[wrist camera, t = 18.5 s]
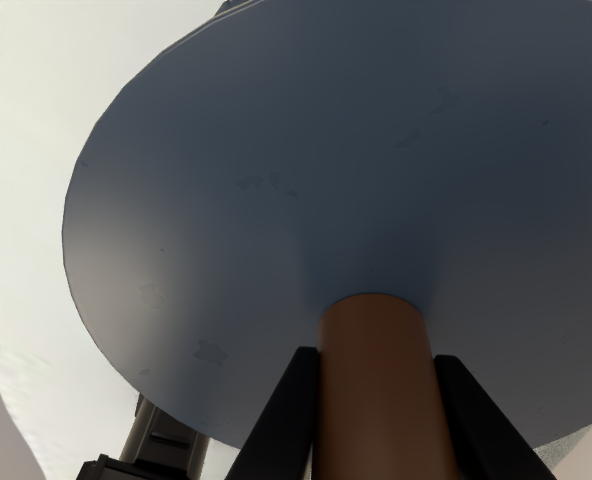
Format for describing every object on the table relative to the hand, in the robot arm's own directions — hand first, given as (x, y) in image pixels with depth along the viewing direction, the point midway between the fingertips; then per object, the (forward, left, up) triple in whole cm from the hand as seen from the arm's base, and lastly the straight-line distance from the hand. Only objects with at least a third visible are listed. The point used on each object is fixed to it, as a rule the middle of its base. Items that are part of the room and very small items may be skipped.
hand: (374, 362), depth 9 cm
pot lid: (0, 0, -1) cm, 1 cm away
